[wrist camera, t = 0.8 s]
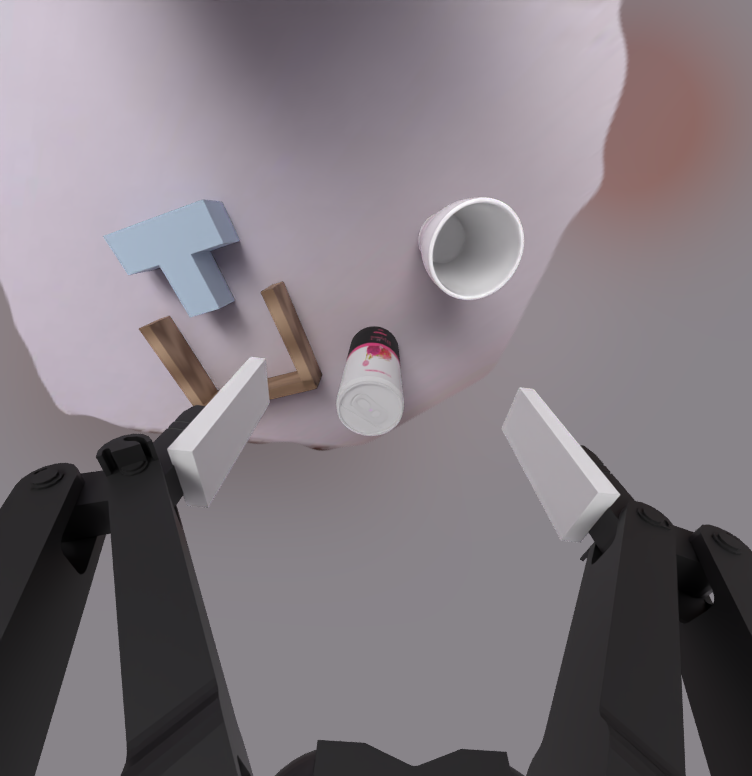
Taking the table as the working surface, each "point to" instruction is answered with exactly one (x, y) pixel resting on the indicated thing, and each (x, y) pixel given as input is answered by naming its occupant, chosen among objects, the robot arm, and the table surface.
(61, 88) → the table surface
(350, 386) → the beverage can
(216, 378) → the table surface
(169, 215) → the tee block
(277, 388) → the walnut corral
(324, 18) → the table surface
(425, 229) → the white paper cup
